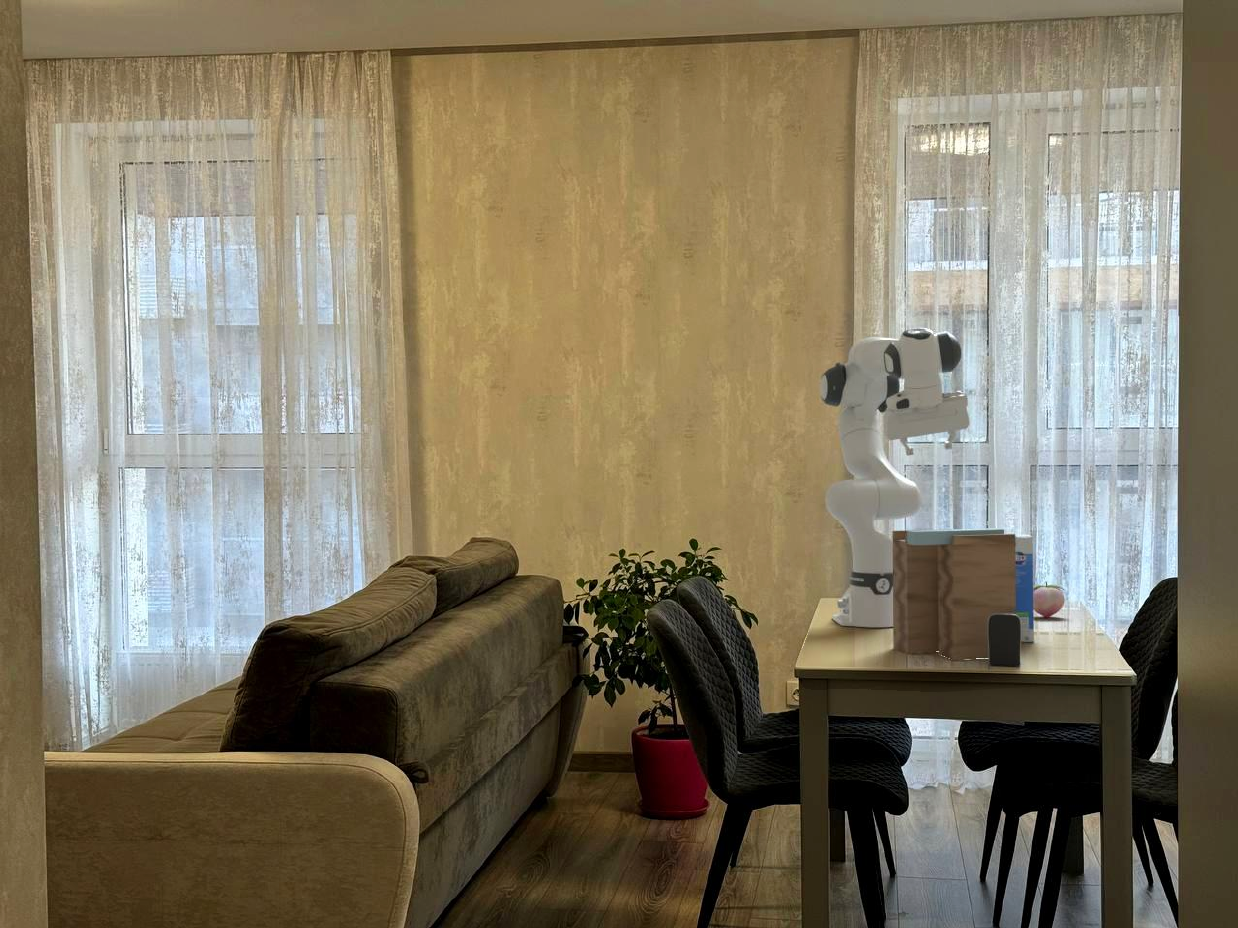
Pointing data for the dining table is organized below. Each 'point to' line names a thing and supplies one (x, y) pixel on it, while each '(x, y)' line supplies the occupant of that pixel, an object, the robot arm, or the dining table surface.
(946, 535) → the batten
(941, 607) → the right post
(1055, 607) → the decorative fruit
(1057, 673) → the dining table surface
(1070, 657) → the dining table surface
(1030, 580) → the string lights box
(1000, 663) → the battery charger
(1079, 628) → the dining table surface
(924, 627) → the left post
